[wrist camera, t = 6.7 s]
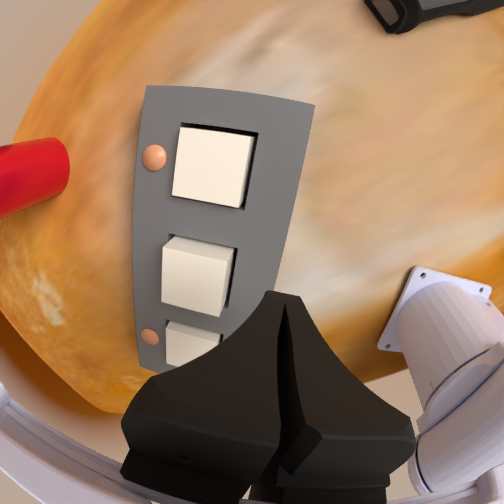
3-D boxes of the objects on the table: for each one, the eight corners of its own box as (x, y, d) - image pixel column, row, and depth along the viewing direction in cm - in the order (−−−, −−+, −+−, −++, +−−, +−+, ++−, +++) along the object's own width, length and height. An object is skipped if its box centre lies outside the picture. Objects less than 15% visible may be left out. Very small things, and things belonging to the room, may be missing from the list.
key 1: (257, 137, 17) (250, 136, 14) (247, 196, 19) (238, 207, 16) (198, 128, 17) (180, 127, 14) (190, 185, 19) (171, 195, 16)
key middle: (237, 241, 19) (227, 261, 16) (229, 291, 21) (219, 317, 18) (181, 229, 19) (162, 247, 16) (177, 279, 21) (161, 301, 18)
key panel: (311, 109, 16) (315, 104, 13) (248, 376, 25) (244, 397, 23) (163, 90, 16) (145, 85, 14) (150, 349, 26) (139, 367, 23)
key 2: (226, 316, 23) (217, 342, 20) (220, 351, 24) (212, 376, 21) (179, 305, 23) (165, 328, 20) (178, 339, 25) (166, 363, 22)
